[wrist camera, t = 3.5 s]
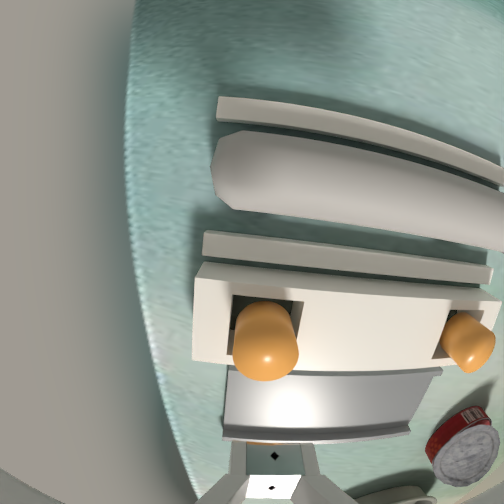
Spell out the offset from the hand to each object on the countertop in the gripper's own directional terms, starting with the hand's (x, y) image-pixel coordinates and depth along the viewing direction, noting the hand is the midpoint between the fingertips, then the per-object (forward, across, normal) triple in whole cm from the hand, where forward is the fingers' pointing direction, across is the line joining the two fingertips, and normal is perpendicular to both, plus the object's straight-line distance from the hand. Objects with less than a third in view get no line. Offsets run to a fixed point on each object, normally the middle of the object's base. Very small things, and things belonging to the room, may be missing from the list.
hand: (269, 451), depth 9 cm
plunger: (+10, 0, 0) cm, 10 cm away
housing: (+13, -8, -6) cm, 16 cm away
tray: (+13, -8, +9) cm, 18 cm away
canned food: (+13, -29, +18) cm, 37 cm away
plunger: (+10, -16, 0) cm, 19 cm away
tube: (+13, -8, -10) cm, 19 cm away
